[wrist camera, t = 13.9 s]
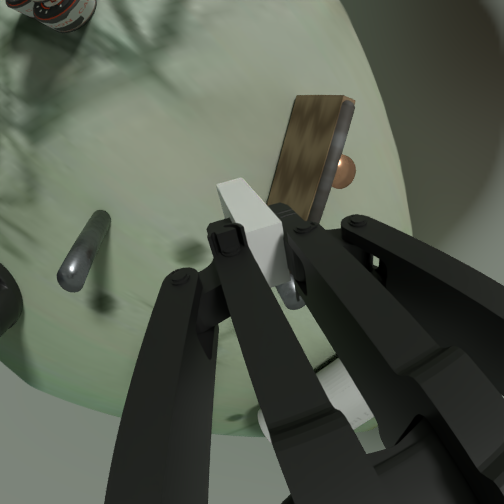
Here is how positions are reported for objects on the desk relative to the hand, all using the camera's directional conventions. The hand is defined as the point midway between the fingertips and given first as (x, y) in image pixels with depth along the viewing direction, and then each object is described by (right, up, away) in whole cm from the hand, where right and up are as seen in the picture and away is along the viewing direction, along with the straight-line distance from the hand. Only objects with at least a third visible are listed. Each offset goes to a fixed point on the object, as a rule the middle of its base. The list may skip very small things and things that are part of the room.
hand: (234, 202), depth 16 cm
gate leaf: (+5, +9, +22) cm, 25 cm away
